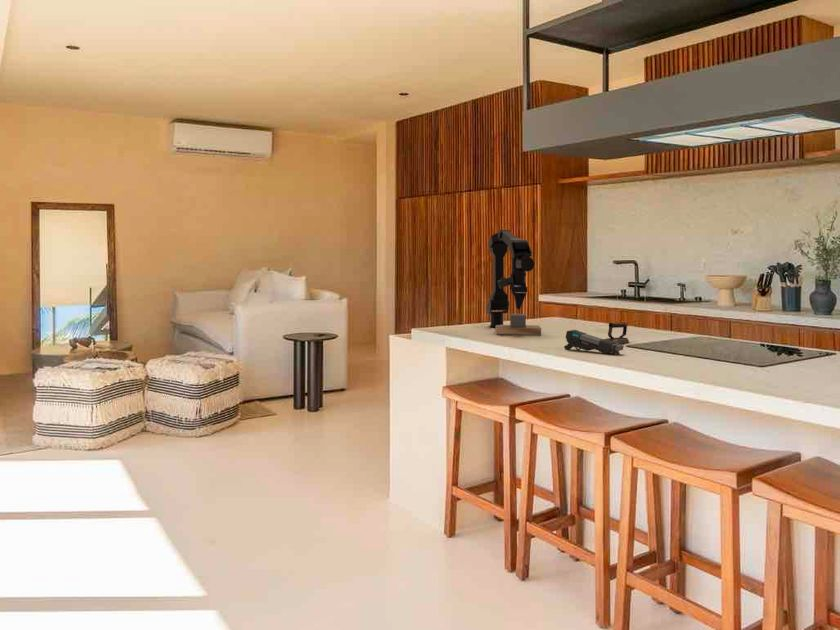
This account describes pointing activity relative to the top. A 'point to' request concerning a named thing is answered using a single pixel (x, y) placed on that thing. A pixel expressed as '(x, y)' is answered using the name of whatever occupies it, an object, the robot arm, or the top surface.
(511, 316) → the dark grey block
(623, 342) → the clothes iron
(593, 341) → the gun
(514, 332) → the socket box
